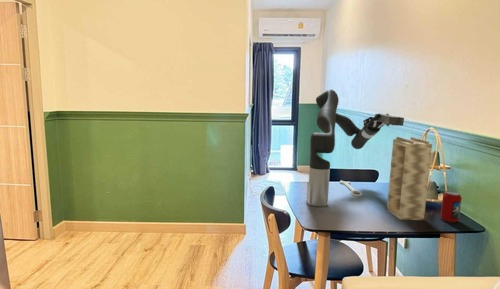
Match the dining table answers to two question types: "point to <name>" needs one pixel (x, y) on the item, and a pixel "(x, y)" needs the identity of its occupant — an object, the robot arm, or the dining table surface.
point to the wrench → (351, 188)
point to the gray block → (391, 120)
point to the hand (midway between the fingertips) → (383, 115)
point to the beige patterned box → (409, 178)
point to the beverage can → (451, 206)
